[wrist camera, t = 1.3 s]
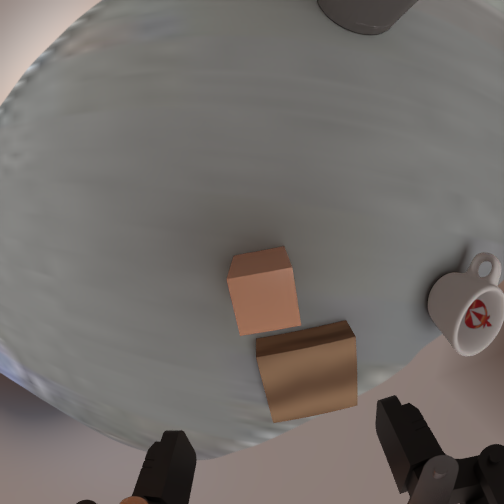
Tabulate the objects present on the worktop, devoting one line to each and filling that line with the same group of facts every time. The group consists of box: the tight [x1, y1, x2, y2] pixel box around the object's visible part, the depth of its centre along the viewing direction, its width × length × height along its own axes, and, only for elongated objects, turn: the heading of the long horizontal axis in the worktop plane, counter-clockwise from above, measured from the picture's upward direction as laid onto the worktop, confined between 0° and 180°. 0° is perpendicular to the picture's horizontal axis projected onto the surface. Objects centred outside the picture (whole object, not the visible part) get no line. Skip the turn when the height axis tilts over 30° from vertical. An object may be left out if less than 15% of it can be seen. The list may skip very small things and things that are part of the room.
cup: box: [428, 253, 504, 356], centre depth 26 cm, size 11×8×8 cm
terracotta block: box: [227, 246, 301, 336], centre depth 26 cm, size 5×5×7 cm
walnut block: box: [256, 320, 357, 423], centre depth 31 cm, size 10×10×4 cm
